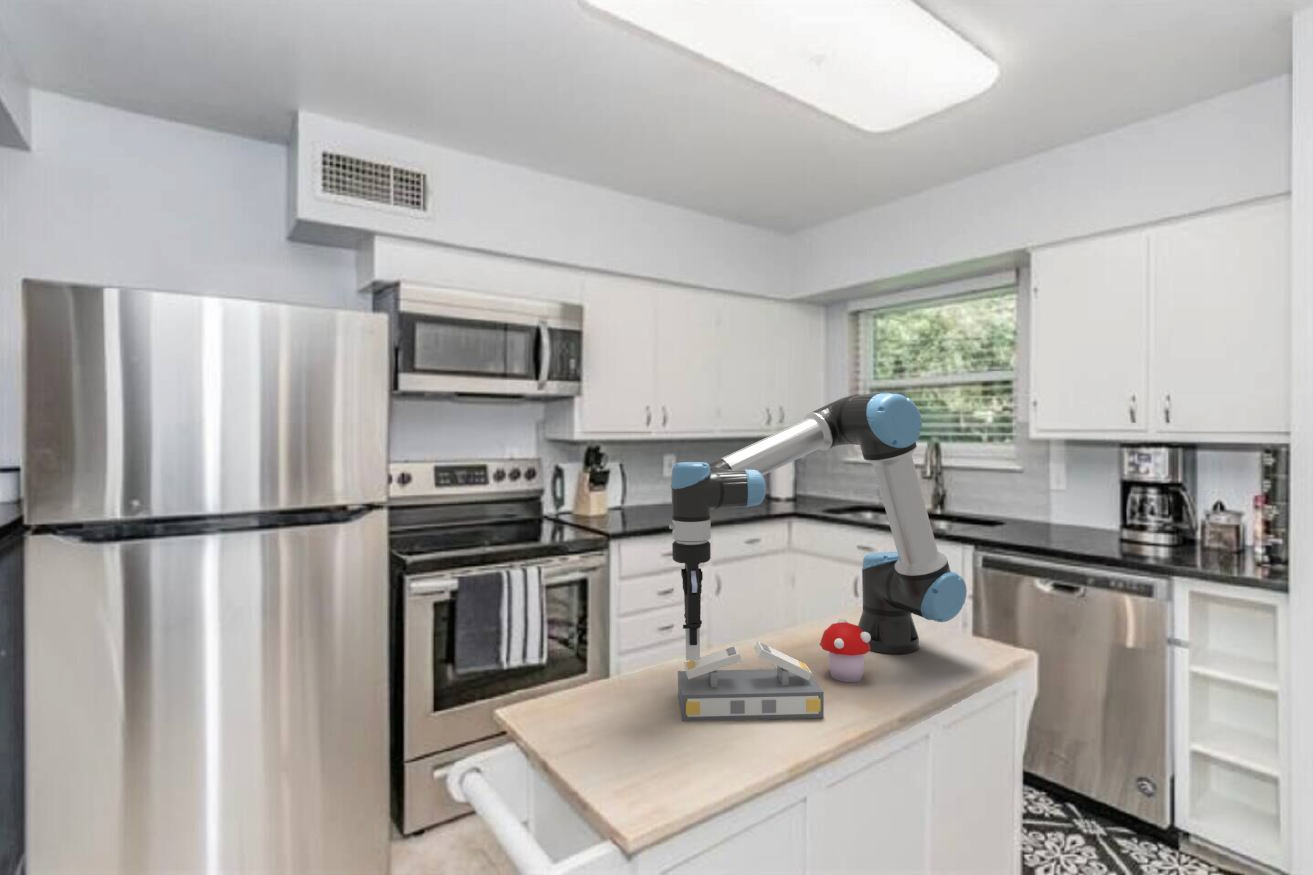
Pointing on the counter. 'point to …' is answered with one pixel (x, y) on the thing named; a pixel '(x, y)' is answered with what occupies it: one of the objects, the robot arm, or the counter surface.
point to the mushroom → (846, 650)
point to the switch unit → (749, 695)
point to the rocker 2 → (782, 660)
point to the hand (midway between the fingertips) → (692, 658)
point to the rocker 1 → (712, 662)
